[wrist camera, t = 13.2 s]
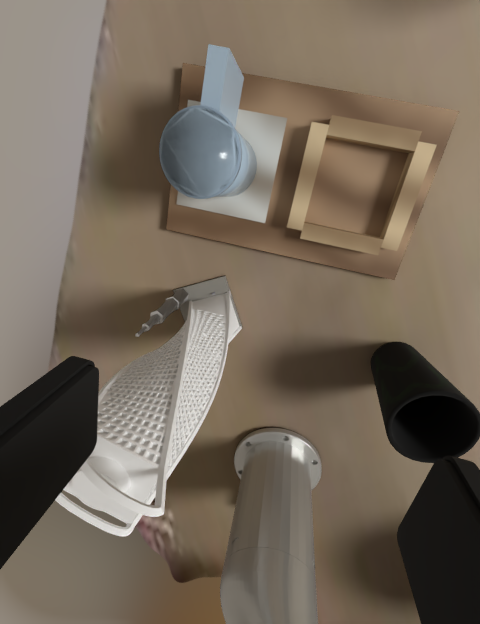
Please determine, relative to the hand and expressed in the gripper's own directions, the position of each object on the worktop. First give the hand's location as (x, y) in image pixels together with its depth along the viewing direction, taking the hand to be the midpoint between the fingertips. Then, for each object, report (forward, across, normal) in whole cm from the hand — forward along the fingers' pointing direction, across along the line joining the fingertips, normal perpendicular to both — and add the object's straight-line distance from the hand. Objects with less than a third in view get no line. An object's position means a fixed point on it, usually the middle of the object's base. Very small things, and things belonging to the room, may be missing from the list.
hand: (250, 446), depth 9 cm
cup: (+31, -16, +10) cm, 36 cm away
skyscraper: (+31, +7, +9) cm, 33 cm away
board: (+30, +1, -8) cm, 31 cm away
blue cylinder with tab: (+29, +8, -10) cm, 31 cm away
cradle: (+29, -5, -8) cm, 31 cm away
